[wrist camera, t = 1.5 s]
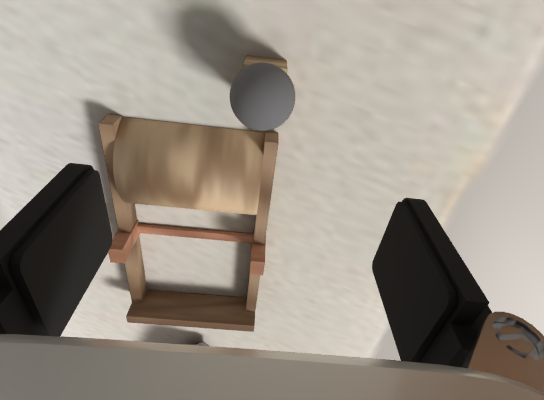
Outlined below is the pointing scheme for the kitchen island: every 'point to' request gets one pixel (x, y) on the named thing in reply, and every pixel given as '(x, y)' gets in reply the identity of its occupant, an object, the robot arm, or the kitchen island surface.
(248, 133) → the wooden roller rack
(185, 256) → the kitchen island surface
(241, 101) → the ball
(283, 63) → the tee
